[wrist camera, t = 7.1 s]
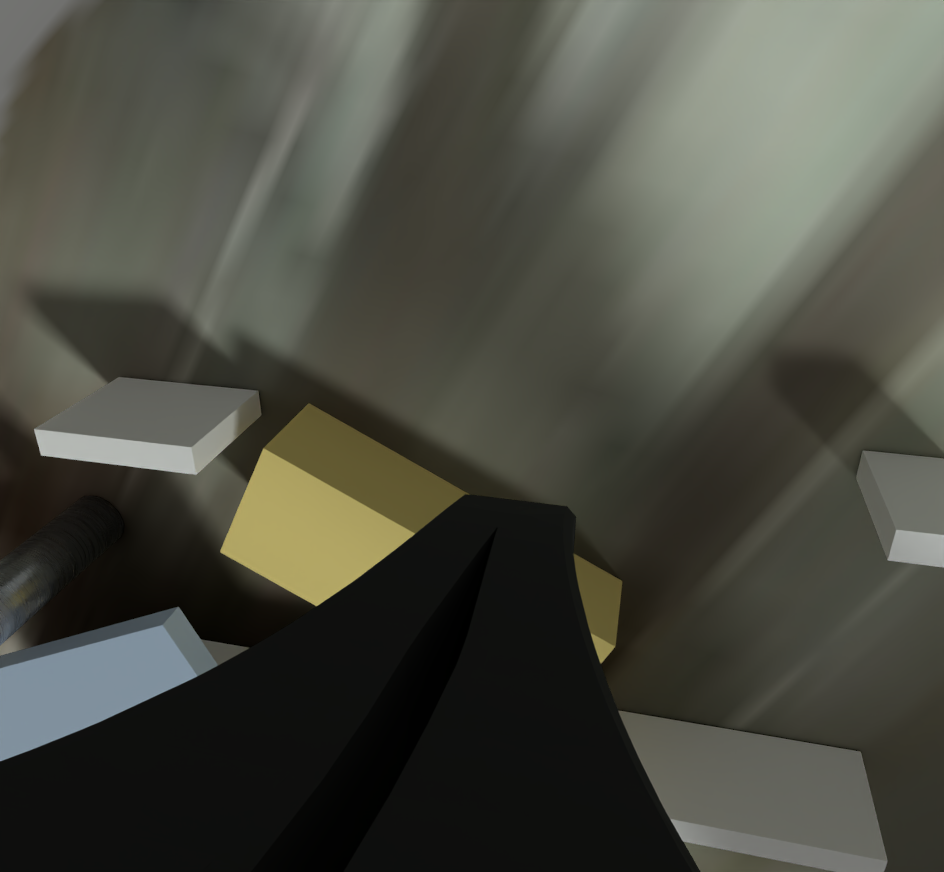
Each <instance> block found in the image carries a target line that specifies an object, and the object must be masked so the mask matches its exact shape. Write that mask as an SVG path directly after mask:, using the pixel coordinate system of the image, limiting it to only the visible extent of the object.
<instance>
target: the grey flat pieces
mask: <svg viewBox="0 0 944 872" xmlns="http://www.w3.org/2000/svg"><path fill="white" fill-rule="evenodd" d="M261 415H262V414H261V407H260V399H259V391H256V390H246V389H236V388H226V387H216V386H205V385H195V384H185V383H175V382H165V381H155V380H145V379H135V378H125V377H118V378H116V379H115V380H113V381H112V382H110V383H108V384H107V385H105V386H103V387H102V388H100V389H99V390H97V391H95V392H94V393H92V394H90V395H89V396H87V397H85V398H84V399H82V400H81V401H79V402H77V403H76V404H74V405H72V406H71V407H69V408H68V409H66V410H64V411H63V412H61V413H59V414H58V415H56V416H54V417H53V418H51V419H50V420H48V421H46V422H45V423H43V424H41V425H40V426H38V427H37V428H35V429H34V431H35V435H36V439H37V442H38V446H39V450H40V453H41V456H49V457H57V458H65V459H73V460H81V461H89V462H98V463H106V464H114V465H122V466H130V467H138V468H146V469H154V470H162V471H170V472H178V473H186V474H194V475H196V474H198V473H199V472H200V471H201V470H202V469H203V468H204V467H205V466H206V465H207V464H209V463H210V462H211V461H212V460H213V459H214V458H215V457H216V456H217V455H218V454H220V453H221V452H222V451H223V450H224V449H225V448H226V447H227V446H228V445H229V444H231V443H232V442H233V441H234V440H235V439H236V438H237V437H238V436H239V435H240V434H241V433H243V432H244V431H245V430H246V429H247V428H248V427H249V426H250V425H251V424H252V423H254V422H255V421H256V420H257V419H258V418H259V417H260V416H261ZM856 479H857V482H858V485H859V487H860V490H861V493H862V495H863V498H864V500H865V503H866V506H867V508H868V511H869V513H870V516H871V519H872V521H873V524H874V526H875V529H876V532H877V534H878V537H879V539H880V542H881V545H882V547H883V550H884V552H885V555H886V558H887V560H888V561H895V562H903V563H911V564H919V565H927V566H936V567H944V458H934V457H924V456H914V455H904V454H894V453H884V452H873V451H862V455H861V459H860V463H859V467H858V471H857V475H856ZM201 641H202V642H203V644H204V645H205V647H206V648H207V650H208V651H209V653H210V654H211V656H212V657H213V659H214V660H215V661H216V663H217V664H218V665H220V664H221V663H223V662H225V661H227V660H229V659H231V658H232V657H234V656H236V655H238V654H240V653H241V652H243V651H245V650H247V649H249V648H248V647H243V646H237V645H231V644H225V643H219V642H213V641H207V640H201ZM618 712H619V714H620V716H621V719H622V721H623V724H624V726H625V728H626V730H627V732H628V735H629V737H630V739H631V741H632V744H633V746H634V748H635V750H636V753H637V755H638V757H639V759H640V761H641V763H642V765H643V767H644V769H645V771H646V773H647V775H648V777H649V779H650V781H651V783H652V785H653V787H654V789H655V791H656V793H657V795H658V797H659V799H660V801H661V803H662V805H663V807H664V809H665V811H666V813H667V815H668V816H669V818H670V820H671V821H672V823H673V825H674V827H675V828H676V830H677V832H678V834H679V835H680V837H681V839H682V841H684V842H689V843H694V844H699V845H704V846H709V847H714V848H719V849H724V850H729V851H734V852H739V853H744V854H749V855H754V856H759V857H764V858H769V859H774V860H779V861H784V862H789V863H794V864H799V865H804V866H809V867H814V868H819V869H824V870H829V871H834V872H884V871H885V868H886V865H887V862H888V860H887V856H886V852H885V848H884V844H883V840H882V836H881V832H880V828H879V824H878V820H877V815H876V811H875V807H874V803H873V799H872V795H871V791H870V787H869V783H868V779H867V775H866V771H865V766H864V762H863V758H862V754H861V752H860V751H854V750H848V749H842V748H836V747H830V746H825V745H819V744H813V743H807V742H801V741H795V740H789V739H783V738H778V737H772V736H766V735H760V734H754V733H748V732H742V731H736V730H731V729H725V728H719V727H713V726H707V725H701V724H695V723H689V722H683V721H678V720H672V719H666V718H660V717H654V716H648V715H642V714H636V713H631V712H625V711H619V710H618Z"/></svg>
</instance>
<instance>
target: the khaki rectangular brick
mask: <svg viewBox="0 0 944 872" xmlns="http://www.w3.org/2000/svg"><path fill="white" fill-rule="evenodd" d="M465 494H468V493H466V492H465V491H463V490H461V489H459V488H458V487H456V486H454V485H452V484H450V483H449V482H447V481H445V480H443V479H442V478H440V477H438V476H436V475H435V474H433V473H431V472H429V471H428V470H426V469H424V468H422V467H421V466H419V465H417V464H415V463H413V462H412V461H410V460H408V459H406V458H405V457H403V456H401V455H399V454H398V453H396V452H394V451H392V450H391V449H389V448H387V447H385V446H384V445H382V444H380V443H378V442H376V441H375V440H373V439H371V438H369V437H368V436H366V435H364V434H362V433H361V432H359V431H357V430H355V429H354V428H352V427H350V426H348V425H347V424H345V423H343V422H341V421H339V420H338V419H336V418H334V417H332V416H331V415H329V414H327V413H325V412H324V411H322V410H320V409H318V408H317V407H315V406H313V405H311V404H310V403H308V404H307V405H306V406H305V407H304V408H303V409H302V410H301V411H300V412H299V413H298V414H297V415H296V416H295V417H294V418H293V419H292V420H291V421H290V422H289V423H288V424H287V425H286V426H285V427H284V428H283V429H282V430H281V431H280V432H279V433H278V434H277V435H276V436H275V437H274V438H273V439H272V440H271V441H270V442H269V443H268V444H267V445H266V446H265V447H264V448H263V451H262V453H261V455H260V458H259V460H258V462H257V465H256V467H255V470H254V472H253V474H252V477H251V479H250V481H249V484H248V486H247V489H246V491H245V493H244V496H243V498H242V501H241V503H240V505H239V508H238V510H237V512H236V515H235V517H234V520H233V522H232V524H231V527H230V529H229V532H228V534H227V536H226V539H225V541H224V543H223V546H222V548H221V551H220V552H221V553H222V554H224V555H226V556H228V557H230V558H231V559H233V560H235V561H237V562H238V563H240V564H242V565H244V566H246V567H247V568H249V569H251V570H253V571H255V572H256V573H258V574H260V575H262V576H263V577H265V578H267V579H269V580H271V581H272V582H274V583H276V584H278V585H280V586H281V587H283V588H285V589H287V590H288V591H290V592H292V593H294V594H296V595H297V596H299V597H301V598H303V599H304V600H306V601H308V602H310V603H312V604H313V605H315V606H318V605H319V604H321V603H322V602H324V601H325V600H327V599H328V598H330V597H331V596H333V595H334V594H335V593H337V592H338V591H340V590H341V589H343V588H344V587H346V586H347V585H349V584H350V583H352V582H353V581H355V580H356V579H357V578H359V577H360V576H361V575H362V574H364V573H365V572H366V571H368V570H369V569H370V568H372V567H373V566H374V565H376V564H377V563H378V562H380V561H381V560H382V559H384V558H385V557H386V556H387V555H389V554H390V553H391V552H393V551H394V550H395V549H397V548H398V547H399V546H400V545H402V544H403V543H404V542H405V541H407V540H408V539H409V538H410V537H412V536H413V535H414V534H415V533H417V532H418V531H419V530H420V529H422V528H423V527H424V526H425V525H427V524H428V523H429V522H430V521H431V520H433V519H434V518H435V517H436V516H438V515H439V514H440V513H441V512H443V511H444V510H445V509H446V508H448V507H449V506H450V505H452V504H453V503H454V502H456V501H457V500H458V499H460V498H461V497H462V496H463V495H465ZM469 495H470V494H469ZM573 554H574V553H573ZM574 561H575V568H576V575H577V580H578V585H579V590H580V594H581V598H582V602H583V606H584V610H585V614H586V618H587V622H588V626H589V629H590V633H591V636H592V639H593V643H594V646H595V649H596V652H597V655H598V658H599V661H600V664H601V663H602V662H603V661H604V660H605V659H606V657H607V656H608V655H609V654H610V653H611V651H612V650H613V649H614V648H615V646H616V636H617V627H618V618H619V609H620V600H621V590H622V581H621V580H620V579H618V578H616V577H614V576H613V575H611V574H609V573H607V572H606V571H604V570H602V569H600V568H598V567H597V566H595V565H593V564H591V563H590V562H588V561H586V560H584V559H583V558H581V557H579V556H577V555H576V554H574Z"/></svg>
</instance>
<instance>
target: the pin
mask: <svg viewBox="0 0 944 872" xmlns="http://www.w3.org/2000/svg"><path fill="white" fill-rule="evenodd" d="M122 533H123V521H122V519H121V516H120V515H119V513H118V512H117V510H116V509H115V508H114V507H113V506H112V505H111V504H110V503H108V502H107V501H105V500H104V499H101V498H99V497H95V496H85V497H82V498H80V499H79V500H78V501H76V502H75V503H74V504H72V505H71V506H70V507H69V508H67V509H66V510H65V511H63V512H62V513H61V514H60V515H58V516H57V517H56V518H54V519H53V520H52V521H51V522H49V523H48V524H47V525H45V526H44V527H43V528H42V529H40V530H39V531H38V532H36V533H35V534H34V535H32V536H31V537H30V538H29V539H27V540H26V541H25V542H23V543H22V544H21V545H20V546H18V547H17V548H16V549H14V550H13V551H12V552H11V553H9V554H8V555H7V556H5V557H4V558H3V559H2V560H0V645H1V644H2V643H3V642H4V641H6V640H7V639H8V638H9V637H10V636H11V635H12V634H13V633H14V632H16V631H17V630H18V629H19V628H20V627H21V626H22V625H23V624H24V623H26V622H27V621H28V620H29V619H30V618H31V617H32V616H33V615H35V614H36V613H37V612H38V611H39V610H40V609H41V608H42V607H43V606H45V605H46V604H47V603H48V602H49V601H50V600H51V599H52V598H53V597H55V596H56V595H57V594H58V593H59V592H60V591H61V590H62V589H63V588H65V587H66V586H67V585H68V584H69V583H70V582H71V581H72V580H73V579H75V578H76V577H77V576H78V575H79V574H80V573H81V572H82V571H83V570H85V569H86V568H87V567H88V566H89V565H90V564H91V563H92V562H93V561H95V560H96V559H97V558H98V557H99V556H100V555H101V554H102V553H103V552H105V551H106V550H107V549H108V548H109V547H110V546H111V545H112V544H113V543H115V542H116V541H117V540H118V539H119V538H120V537H121V535H122Z"/></svg>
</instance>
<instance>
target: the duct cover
mask: <svg viewBox="0 0 944 872" xmlns="http://www.w3.org/2000/svg"><path fill="white" fill-rule="evenodd" d="M216 666H218V664H217V663H216V661H215V660H214V659H213V657H212V656H211V654H210V653H209V651H208V650H207V648H206V647H205V645H204V644H203V642H202V641H201V639H200V638H199V636H198V635H197V633H196V632H195V630H194V629H193V627H192V626H191V624H190V623H189V621H188V620H187V618H186V617H185V615H184V614H183V612H182V611H181V609H180V608H179V607H175V608H172V609H168V610H165V611H161V612H157V613H154V614H150V615H146V616H143V617H139V618H135V619H132V620H128V621H125V622H121V623H117V624H114V625H110V626H106V627H103V628H99V629H96V630H92V631H88V632H85V633H81V634H77V635H74V636H70V637H67V638H63V639H59V640H56V641H52V642H48V643H45V644H41V645H38V646H34V647H30V648H27V649H23V650H19V651H16V652H12V653H9V654H5V655H1V656H0V761H2V760H5V759H8V758H10V757H13V756H16V755H19V754H21V753H24V752H27V751H29V750H32V749H34V748H37V747H39V746H42V745H44V744H47V743H49V742H52V741H54V740H57V739H59V738H62V737H64V736H67V735H69V734H72V733H74V732H77V731H79V730H82V729H84V728H87V727H89V726H91V725H94V724H96V723H98V722H101V721H103V720H105V719H107V718H109V717H111V716H114V715H116V714H118V713H120V712H122V711H124V710H126V709H129V708H131V707H133V706H135V705H137V704H139V703H141V702H144V701H146V700H148V699H150V698H152V697H154V696H157V695H159V694H161V693H163V692H165V691H167V690H169V689H172V688H174V687H176V686H178V685H180V684H182V683H184V682H187V681H189V680H191V679H193V678H195V677H197V676H199V675H201V674H203V673H205V672H207V671H209V670H210V669H212V668H214V667H216Z"/></svg>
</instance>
